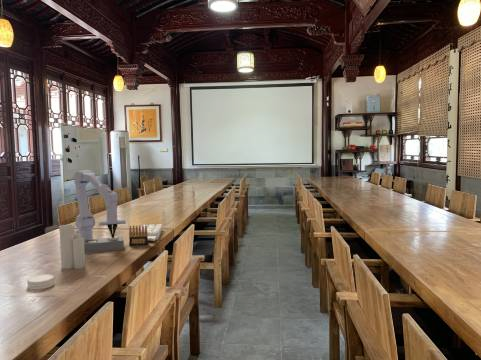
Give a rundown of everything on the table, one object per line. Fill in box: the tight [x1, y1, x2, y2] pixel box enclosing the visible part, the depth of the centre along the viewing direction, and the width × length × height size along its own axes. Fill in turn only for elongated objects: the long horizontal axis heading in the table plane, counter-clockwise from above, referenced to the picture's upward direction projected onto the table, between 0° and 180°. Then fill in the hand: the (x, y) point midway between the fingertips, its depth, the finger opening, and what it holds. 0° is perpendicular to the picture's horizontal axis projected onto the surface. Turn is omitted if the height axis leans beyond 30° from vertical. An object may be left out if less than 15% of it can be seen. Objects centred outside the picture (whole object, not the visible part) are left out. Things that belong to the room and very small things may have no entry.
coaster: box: [26, 273, 55, 291], centre depth 158 cm, size 10×10×4 cm
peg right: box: [108, 235, 118, 241], centre depth 216 cm, size 4×4×4 cm
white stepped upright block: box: [58, 224, 86, 270], centre depth 182 cm, size 11×7×20 cm, turn 92°
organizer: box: [135, 223, 163, 242], centre depth 244 cm, size 13×5×35 cm
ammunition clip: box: [128, 224, 149, 247], centre depth 222 cm, size 11×2×12 cm, turn 102°
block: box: [84, 236, 125, 254], centre depth 214 cm, size 22×10×5 cm, turn 110°
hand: (112, 237), depth 216 cm, fingers closed, pressing on peg right
